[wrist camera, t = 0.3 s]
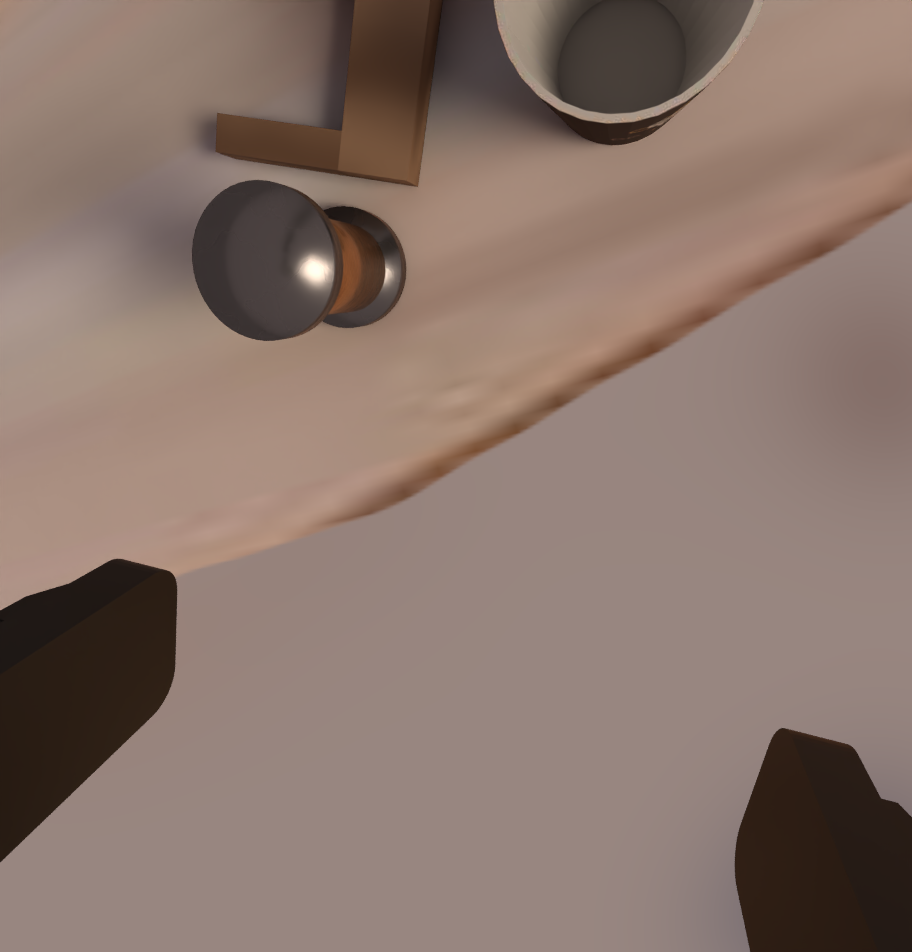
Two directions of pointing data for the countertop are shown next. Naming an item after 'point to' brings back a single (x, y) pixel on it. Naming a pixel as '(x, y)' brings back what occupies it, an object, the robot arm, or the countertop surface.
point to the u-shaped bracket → (360, 103)
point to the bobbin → (293, 262)
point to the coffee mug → (621, 57)
